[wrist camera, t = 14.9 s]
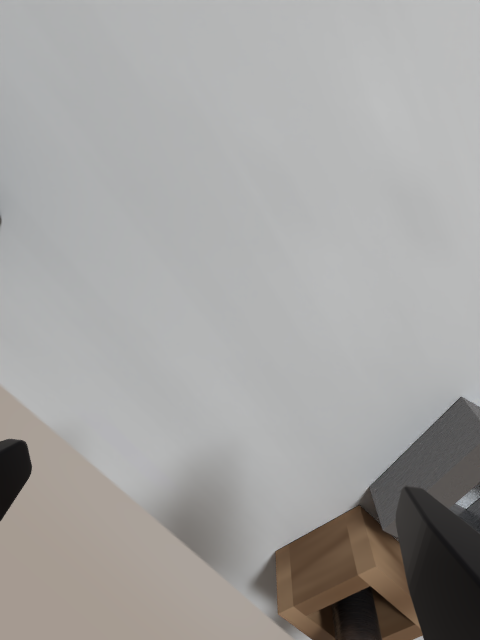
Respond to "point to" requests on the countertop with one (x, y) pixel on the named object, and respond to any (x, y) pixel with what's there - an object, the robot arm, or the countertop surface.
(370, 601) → the chuck key
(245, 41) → the countertop surface
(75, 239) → the countertop surface
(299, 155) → the countertop surface
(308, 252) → the countertop surface
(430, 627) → the robot arm
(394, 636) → the wooden square frame
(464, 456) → the block
